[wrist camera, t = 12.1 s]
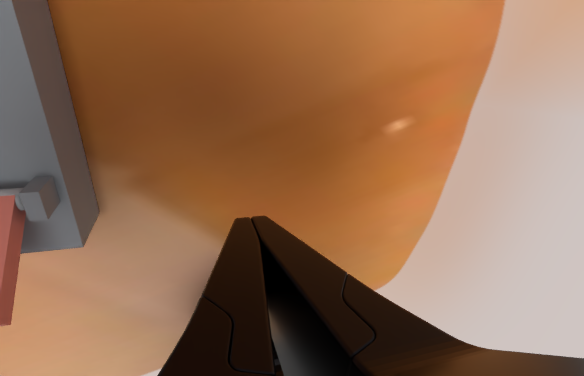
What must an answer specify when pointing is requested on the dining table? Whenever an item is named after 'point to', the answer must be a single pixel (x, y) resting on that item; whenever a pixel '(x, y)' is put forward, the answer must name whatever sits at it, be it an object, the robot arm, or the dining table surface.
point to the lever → (9, 248)
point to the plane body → (41, 132)
